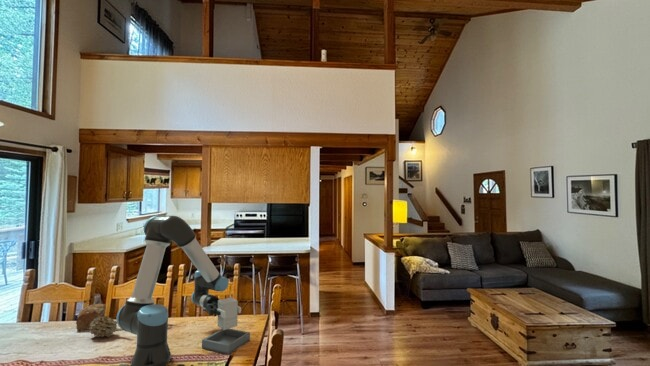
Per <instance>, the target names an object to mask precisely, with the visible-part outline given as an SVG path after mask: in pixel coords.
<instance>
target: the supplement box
mask: <svg viewBox="0 0 650 366" xmlns="http://www.w3.org/2000/svg"><path fill="white" fill-rule="evenodd" d="M238 302H239V301H238V300H237V299H235V298H234V297H227V298H222V299H219V300H218V309H221V310H223V311H225V312H226V318H223V317H221V316H219V315H217V327H219V328H220V330H221V329H223V330H226V329H233V328H235V327H238V317H239V316H238V314H239V313H238V306H239V305H238V304H239V303H238Z"/></svg>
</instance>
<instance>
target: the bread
mask: <svg viewBox="0 0 650 366" xmlns="http://www.w3.org/2000/svg"><path fill="white" fill-rule="evenodd" d="M106 307H107V306H106V304H105V303H93V304H89V305H88V306H85V307H84V308H82V309H81V310H80V311H79V312H78V315H77V316H76V320H75V322H76V323H75V325H76V330H77V331H83V330H89V327H90V326H89V325H90V324H91V322H92V321H93V320H94V319H96V318H97V317H103V316H105V317H106Z"/></svg>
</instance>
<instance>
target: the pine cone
mask: <svg viewBox="0 0 650 366" xmlns="http://www.w3.org/2000/svg"><path fill="white" fill-rule="evenodd" d="M89 326H90V327H89V329H88V331H89V332H88V333H90V334H91V335H93V336H95V337H100V338H101V337H102V338H104V337H106V338H109V337H111V336H112V335H113V334H114V333H115V332H122V331H124V330H123V329H121V328H120V327H119V328H118V324H117V321H116V320H114V318H112V317H108V316H106V315H105V316H103V317H97V318H96V319H94V320H93V321H92V322H91V324H90V325H89Z"/></svg>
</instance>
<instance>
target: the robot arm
mask: <svg viewBox="0 0 650 366" xmlns="http://www.w3.org/2000/svg"><path fill="white" fill-rule="evenodd" d="M143 233H144V235H145V237H144V242H145V243H146V247H145V250H144V253H143V257H142V260H141V263H140V266H139V269H138V273H137V276H136V280H135V283H134V287H133V291H132V294H131V296H130V297H128V298H127V299H126V300H125V304H124V305H123V306H121V308H119V310H118V311H117V313H116V320H115V321H116V322H117V327H119V328H121V329H123V330H122V331H124V332H128V333H130V334H133V335H135V336H136V347H135V351H134V354H133V356H132V359H131V361H130V366H167V365H168V364H169V363H170V362H169V360H170V359H171V360H172V352H171V350H170V347H169V344H168V330H169V329H168V324H169V311H168V308H167V307H166V306H165V305H162V304H155V301H154V299H153V295H154V291H155V289H156V285H157V281H158V277H159V274H160V270H161V268H162V264H163V259H164V255H165V252H166V248H167V247H169V246H170V245H171V242H172V243H174V244H175V245H176V247H177V248H181V249H182V251H183V252H184V253H185V254H186V256H187V257H188V259H189V260H190V261H191V263H192V264H193V265H194V267H195V268H196V269H197V270H196V271H194V281H193V282H194V290H193V292H192V294H191V295H190V300H191V302H192V303H193V304H194V305H196V306H199V307H201V308H203V309H202V310H203V311H204V312H205V313H207V314H208V315H209V316H213V315H214V317H218V315H219V316H221V317H223V318H226V312H225V311H223V310H221V309H218V300H220V298H219V297H218V296H216V295H214V294H210V293H209V292H210V291H215V292H220V293H221V292H225V291H226V290H227V289H228V287H229V283H230V282H229V279H228V277H225V276H222V275H221V274H220V271H218V269H217V268H216V265H214V263H213V261H211V259H210V258H209V256H208V255H207V253H206V251H205V250H204V249H203V247H202V246H201V244H200V242H199V241H198V240H197V238H196V237H197V235H196V232H194V230H193V229H192V227H191V226H190V225H189V224H188V222H186V221H185V220H184V219H183V218H182V217H180V216H177V215H165V214H158V215H154V216H151V217H149V218H148V219H147V220H146V221H145V223H144V225H143ZM209 290H210V291H209ZM203 311H202V312H203ZM241 313H242V307H241V306H239V305H238V314H241ZM171 360H170V361H171ZM168 362H169V363H168ZM167 363H168V364H167ZM166 364H167V365H166Z"/></svg>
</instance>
